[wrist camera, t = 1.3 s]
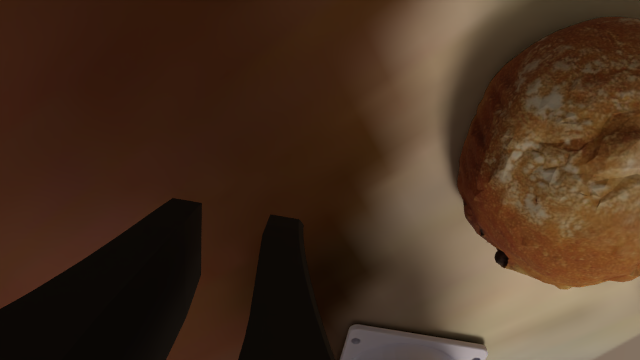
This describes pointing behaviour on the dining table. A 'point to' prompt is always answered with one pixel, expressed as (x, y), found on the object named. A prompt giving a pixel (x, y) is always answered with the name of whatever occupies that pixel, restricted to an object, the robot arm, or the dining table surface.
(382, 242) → the dining table surface
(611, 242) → the bread roll
